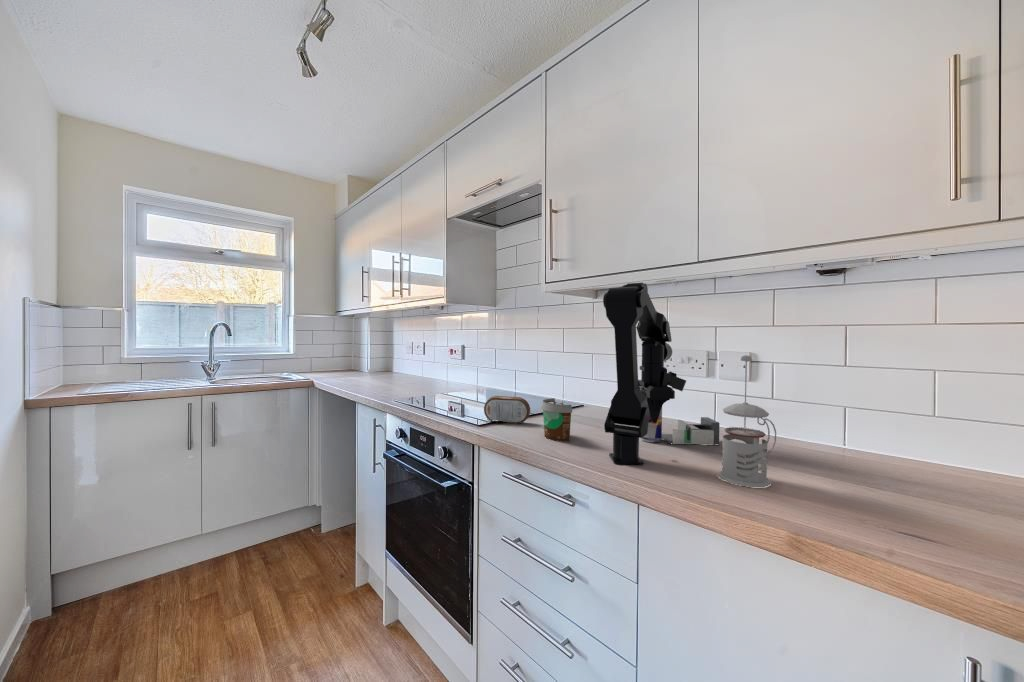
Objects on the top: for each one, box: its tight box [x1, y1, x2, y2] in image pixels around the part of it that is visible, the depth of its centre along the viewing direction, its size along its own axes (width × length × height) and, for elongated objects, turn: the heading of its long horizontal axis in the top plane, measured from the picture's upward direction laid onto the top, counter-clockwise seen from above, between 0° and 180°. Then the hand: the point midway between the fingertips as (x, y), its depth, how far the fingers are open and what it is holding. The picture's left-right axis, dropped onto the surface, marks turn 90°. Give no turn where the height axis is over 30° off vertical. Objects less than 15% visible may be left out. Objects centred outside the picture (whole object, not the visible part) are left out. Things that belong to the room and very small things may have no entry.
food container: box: [540, 397, 573, 442], centre depth 113 cm, size 12×6×10 cm, turn 17°
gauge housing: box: [662, 416, 720, 445], centre depth 110 cm, size 7×13×6 cm, turn 87°
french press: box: [716, 355, 777, 487], centre depth 81 cm, size 10×12×25 cm
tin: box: [483, 395, 531, 424], centre depth 131 cm, size 15×3×8 cm, turn 79°
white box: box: [677, 419, 699, 440], centre depth 109 cm, size 8×4×4 cm, turn 177°
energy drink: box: [640, 407, 663, 443], centre depth 110 cm, size 5×5×12 cm
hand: (651, 420), depth 110 cm, fingers closed on energy drink, 5 cm apart
